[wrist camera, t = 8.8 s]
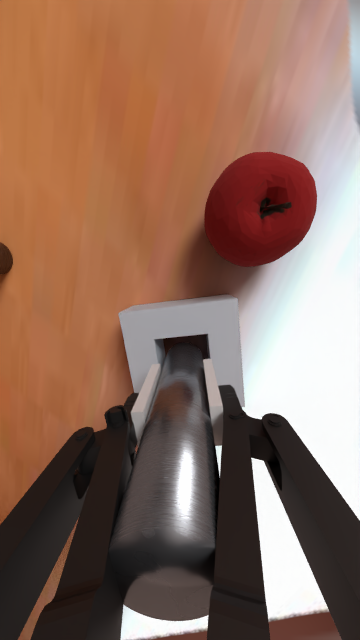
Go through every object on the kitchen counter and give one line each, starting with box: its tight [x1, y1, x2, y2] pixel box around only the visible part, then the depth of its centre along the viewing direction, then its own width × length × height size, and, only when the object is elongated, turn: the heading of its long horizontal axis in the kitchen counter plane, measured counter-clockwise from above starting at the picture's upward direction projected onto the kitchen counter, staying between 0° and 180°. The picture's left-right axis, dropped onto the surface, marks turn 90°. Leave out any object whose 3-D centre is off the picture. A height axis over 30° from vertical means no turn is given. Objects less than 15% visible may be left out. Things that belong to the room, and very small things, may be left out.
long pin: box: [108, 342, 220, 621], centre depth 14 cm, size 4×4×16 cm
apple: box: [205, 152, 317, 267], centre depth 17 cm, size 9×9×10 cm
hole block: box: [119, 294, 245, 407], centre depth 23 cm, size 12×12×5 cm
